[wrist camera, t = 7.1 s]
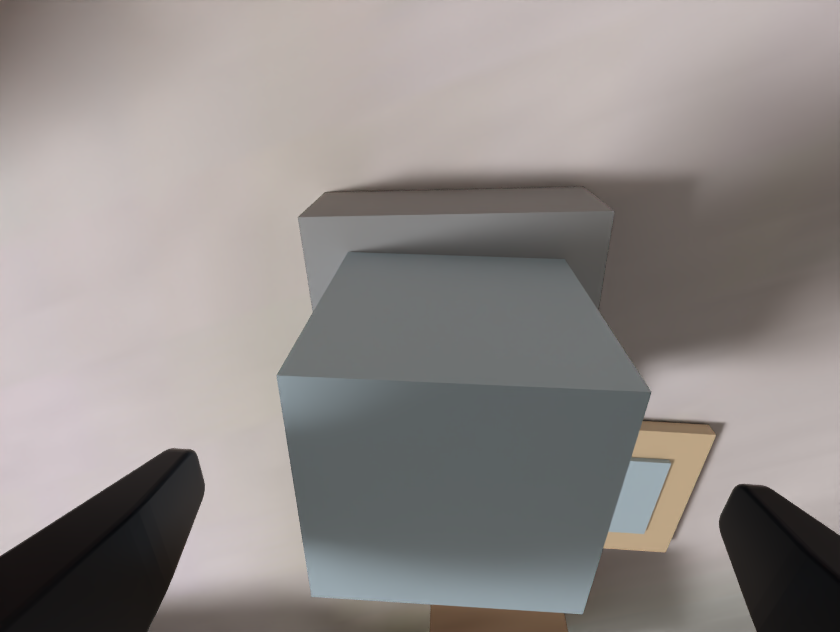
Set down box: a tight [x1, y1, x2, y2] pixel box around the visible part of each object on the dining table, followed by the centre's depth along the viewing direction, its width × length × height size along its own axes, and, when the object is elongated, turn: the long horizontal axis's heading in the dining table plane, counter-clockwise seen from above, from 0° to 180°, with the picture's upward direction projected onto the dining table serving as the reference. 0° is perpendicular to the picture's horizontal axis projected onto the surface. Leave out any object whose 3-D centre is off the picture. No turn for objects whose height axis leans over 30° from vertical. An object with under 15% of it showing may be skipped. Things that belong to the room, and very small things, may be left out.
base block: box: [298, 186, 615, 312], centre depth 13 cm, size 7×7×3 cm
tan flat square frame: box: [603, 421, 716, 552], centre depth 17 cm, size 6×6×1 cm
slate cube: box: [277, 252, 651, 614], centre depth 9 cm, size 5×5×5 cm
